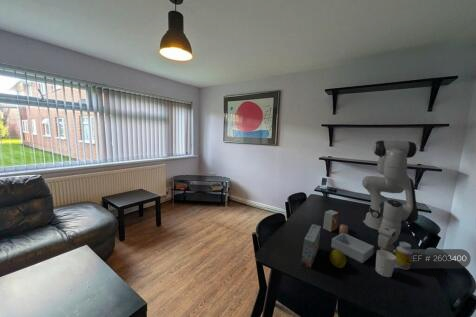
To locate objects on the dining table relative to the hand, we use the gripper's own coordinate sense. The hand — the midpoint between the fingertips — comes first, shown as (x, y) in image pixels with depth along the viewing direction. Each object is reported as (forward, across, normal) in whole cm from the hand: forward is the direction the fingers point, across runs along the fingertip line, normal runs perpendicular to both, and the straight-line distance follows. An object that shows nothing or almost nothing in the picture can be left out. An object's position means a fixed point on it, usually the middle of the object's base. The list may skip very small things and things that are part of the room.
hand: (386, 250), depth 113 cm
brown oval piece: (+3, +2, -25) cm, 25 cm away
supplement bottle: (+2, +6, +9) cm, 11 cm away
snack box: (+2, +42, -23) cm, 47 cm away
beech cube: (+2, 0, 0) cm, 2 cm away
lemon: (+2, +35, -11) cm, 37 cm away
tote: (+2, +15, -13) cm, 20 cm away
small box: (+3, 0, -35) cm, 35 cm away
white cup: (+2, +20, +5) cm, 21 cm away
